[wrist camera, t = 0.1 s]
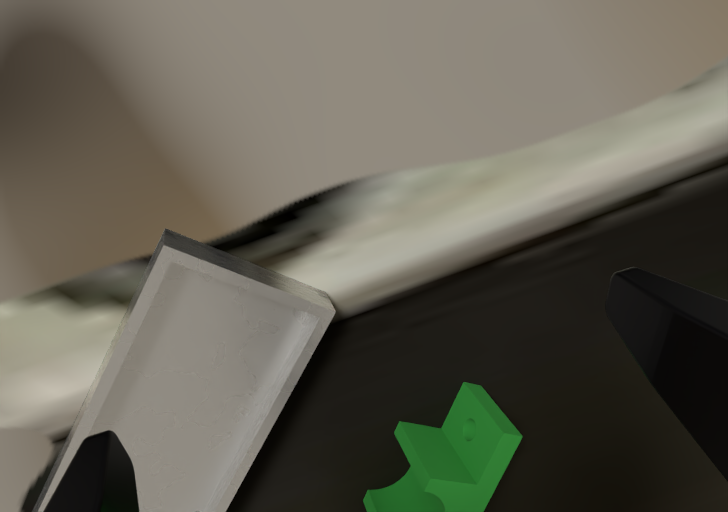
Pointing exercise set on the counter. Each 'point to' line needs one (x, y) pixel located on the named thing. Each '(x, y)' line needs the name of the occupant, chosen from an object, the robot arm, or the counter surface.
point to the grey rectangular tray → (198, 374)
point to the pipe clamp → (451, 459)
